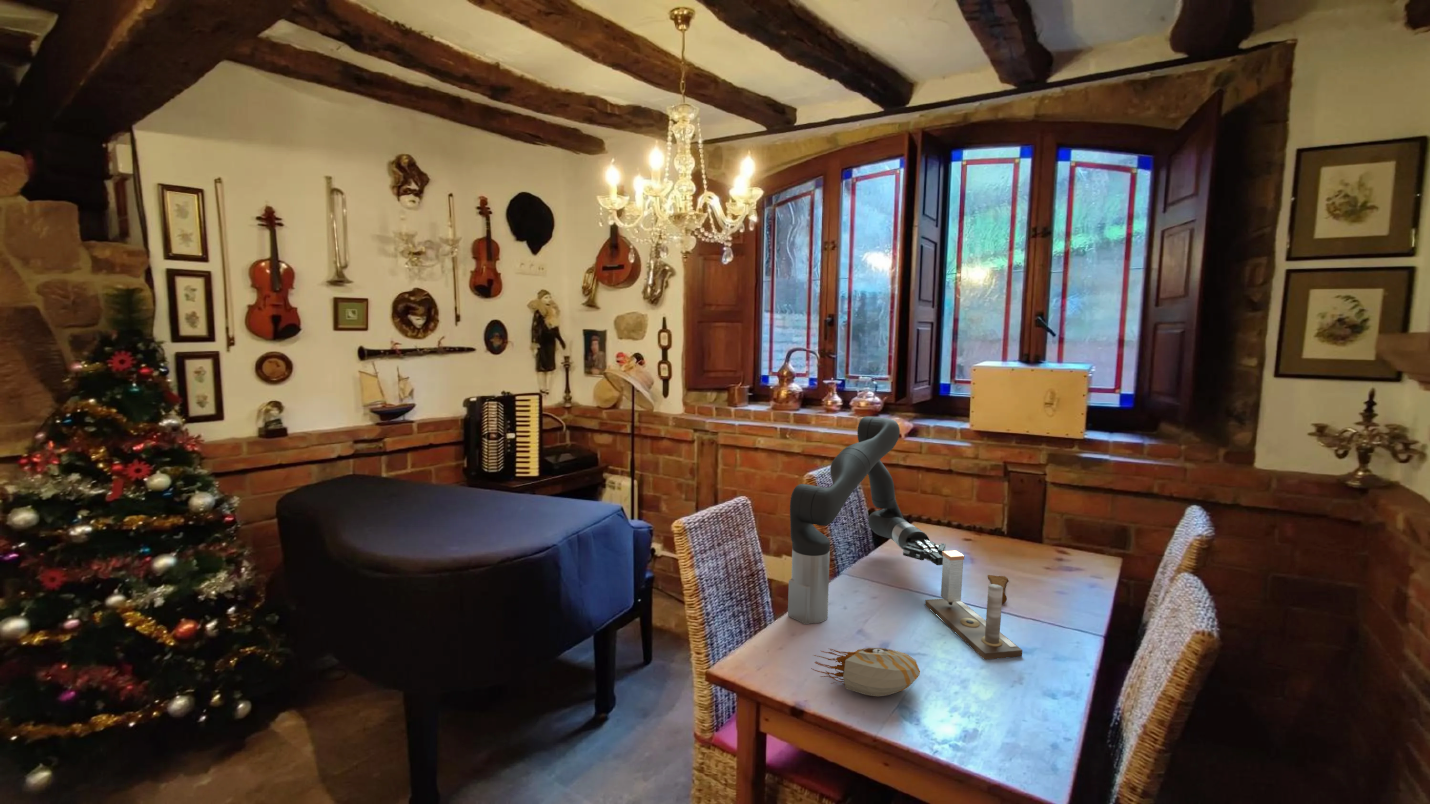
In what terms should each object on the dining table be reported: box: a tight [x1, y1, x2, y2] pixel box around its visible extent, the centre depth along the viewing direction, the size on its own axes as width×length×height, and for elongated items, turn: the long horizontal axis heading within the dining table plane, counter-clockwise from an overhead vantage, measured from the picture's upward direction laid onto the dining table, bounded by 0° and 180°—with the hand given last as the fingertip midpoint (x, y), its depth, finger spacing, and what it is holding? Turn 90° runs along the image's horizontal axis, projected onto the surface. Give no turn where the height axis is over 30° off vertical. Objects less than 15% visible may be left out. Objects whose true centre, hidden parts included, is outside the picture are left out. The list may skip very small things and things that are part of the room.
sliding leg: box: [940, 550, 965, 605], centre depth 162 cm, size 4×4×13 cm
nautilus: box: [811, 647, 921, 697], centre depth 130 cm, size 8×22×15 cm
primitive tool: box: [987, 574, 1010, 605], centre depth 176 cm, size 19×6×4 cm, turn 160°
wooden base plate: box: [924, 583, 1023, 661], centre depth 153 cm, size 27×9×14 cm, turn 10°
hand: (940, 561), depth 167 cm, fingers closed
